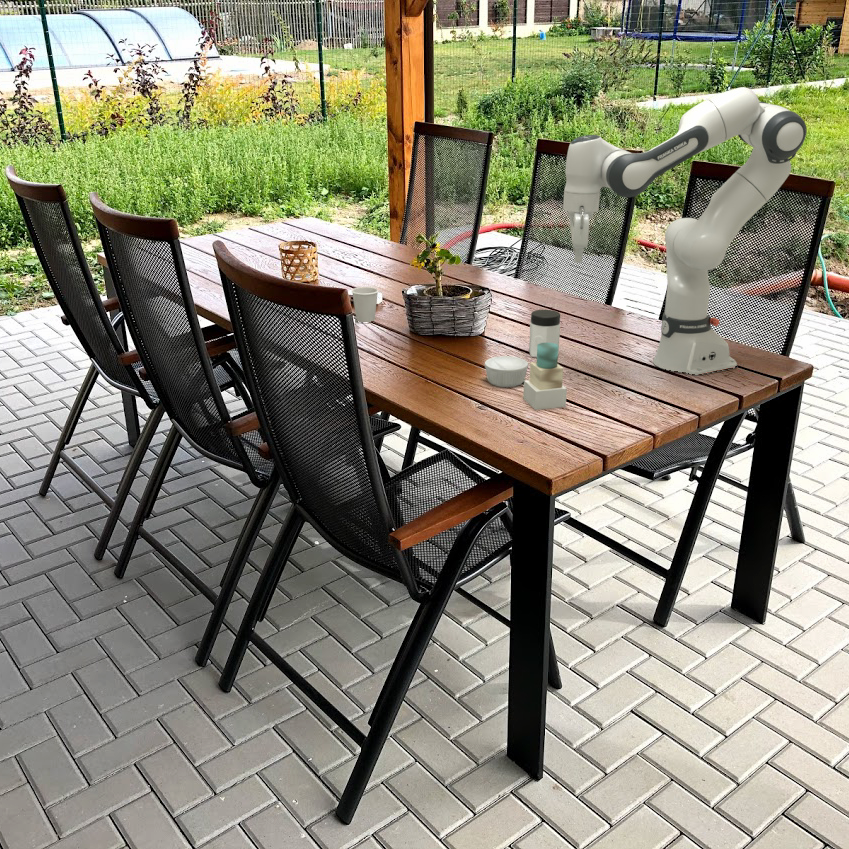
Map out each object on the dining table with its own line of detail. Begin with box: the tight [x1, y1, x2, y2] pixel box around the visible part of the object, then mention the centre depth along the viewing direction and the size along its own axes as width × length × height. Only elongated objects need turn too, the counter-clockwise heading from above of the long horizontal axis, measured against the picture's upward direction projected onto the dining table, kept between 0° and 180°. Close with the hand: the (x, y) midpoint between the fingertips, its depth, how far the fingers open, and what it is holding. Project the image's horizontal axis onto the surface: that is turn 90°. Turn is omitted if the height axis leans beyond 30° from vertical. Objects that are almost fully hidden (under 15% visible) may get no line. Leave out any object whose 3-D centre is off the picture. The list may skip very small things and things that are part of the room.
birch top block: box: [528, 361, 564, 390], centre depth 226 cm, size 6×6×5 cm
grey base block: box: [522, 379, 568, 411], centre depth 228 cm, size 8×8×5 cm
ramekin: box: [484, 355, 529, 388], centre depth 241 cm, size 11×11×5 cm
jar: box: [528, 309, 561, 359], centre depth 260 cm, size 9×8×12 cm
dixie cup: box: [351, 286, 379, 322], centre depth 290 cm, size 8×8×10 cm
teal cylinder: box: [536, 343, 559, 369], centre depth 224 cm, size 5×5×5 cm
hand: (577, 257), depth 237 cm, fingers open, 8 cm apart
